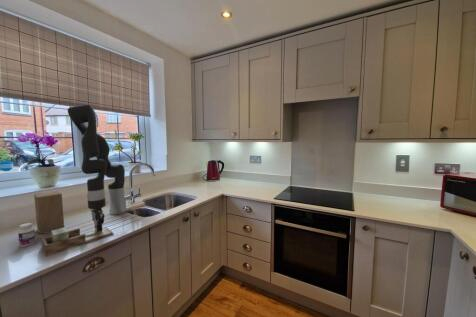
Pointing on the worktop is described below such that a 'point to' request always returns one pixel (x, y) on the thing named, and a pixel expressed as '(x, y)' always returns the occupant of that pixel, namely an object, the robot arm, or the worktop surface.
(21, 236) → the pill bottle
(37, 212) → the wooden block
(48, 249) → the lane
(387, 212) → the worktop surface
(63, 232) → the string block
